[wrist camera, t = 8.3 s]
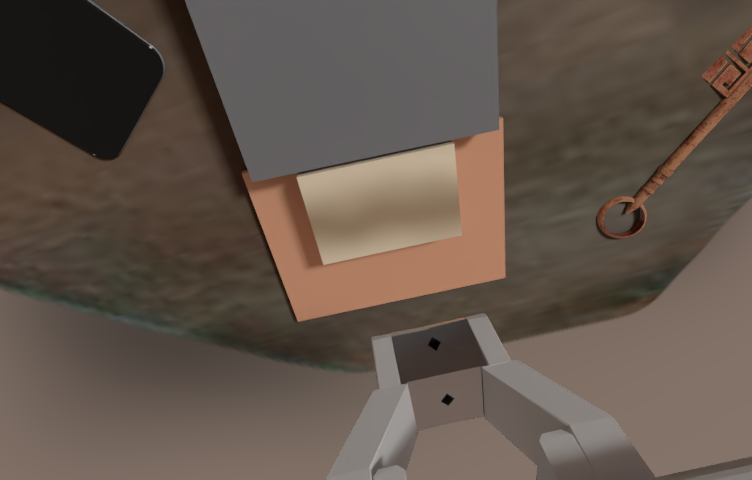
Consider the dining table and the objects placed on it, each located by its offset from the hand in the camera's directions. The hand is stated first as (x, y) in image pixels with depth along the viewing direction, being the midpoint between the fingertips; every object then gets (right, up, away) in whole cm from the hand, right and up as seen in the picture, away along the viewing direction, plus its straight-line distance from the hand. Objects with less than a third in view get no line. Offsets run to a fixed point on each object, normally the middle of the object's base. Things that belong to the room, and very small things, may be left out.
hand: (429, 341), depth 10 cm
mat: (-1, +3, +16) cm, 17 cm away
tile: (-1, +6, +15) cm, 16 cm away
